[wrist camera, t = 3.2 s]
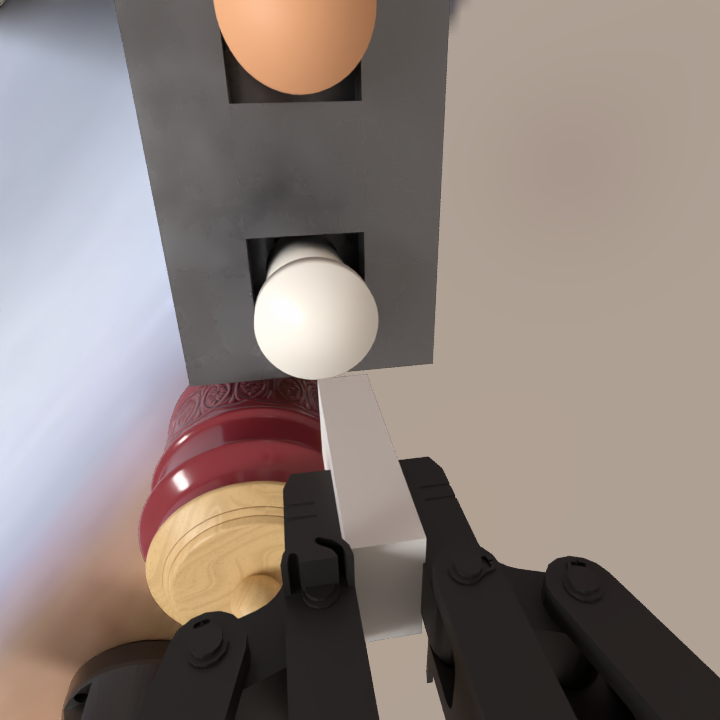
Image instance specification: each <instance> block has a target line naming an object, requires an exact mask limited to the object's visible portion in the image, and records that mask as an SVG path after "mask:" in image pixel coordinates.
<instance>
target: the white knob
mask: <svg viewBox="0 0 720 720" xmlns="http://www.w3.org/2000/svg"><path fill="white" fill-rule="evenodd" d="M377 330H378V311H377V306H376V303H375V300H374V298H373V296H372V294H371V292H370V290H369V289H368V287H367V285H366V283H365V282H364V281H363V279H362V278H361V277H360V276H359V275H358V274H357V273H356V272H355V271H354V270H353V269H352V268H350V267H349V266H347V265H345V264H344V263H343V261H342V259H341V257H340V255H339V253H338V251H337V249H336V248H335V246H334V245H333V244H332V243H331V242H330V241H329V240H328V239H327V238H326V237H324V236H322V235H320V234H319V235H302V236H285V237H282V238H281V239H279V240H278V241H277V242H276V243H275V244H274V245H273V247H272V248H271V250H270V252H269V254H268V257H267V261H266V281H265V283H264V284H263V286H262V288H261V289H260V291H259V294H258V296H257V300H256V304H255V313H254V331H255V336H256V339H257V342H258V345H259V347H260V349H261V351H262V352H263V354H264V355H265V357H266V358H267V359H268V360H269V361H270V362H271V363H272V364H273V365H274V366H275V367H277V368H278V369H280V370H281V371H283V372H285V373H287V374H289V375H291V376H294V377H297V378H302V379H310V380H317V379H322V378H331V377H335V376H338V375H340V374H343V373H345V372H346V371H348V370H350V369H351V368H353V367H354V366H356V365H357V364H358V363H359V362H360V361H361V360H362V359H363V358H364V357H365V356H366V355H367V353H368V352H369V350H370V349H371V347H372V345H373V343H374V340H375V337H376V334H377Z"/></svg>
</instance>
